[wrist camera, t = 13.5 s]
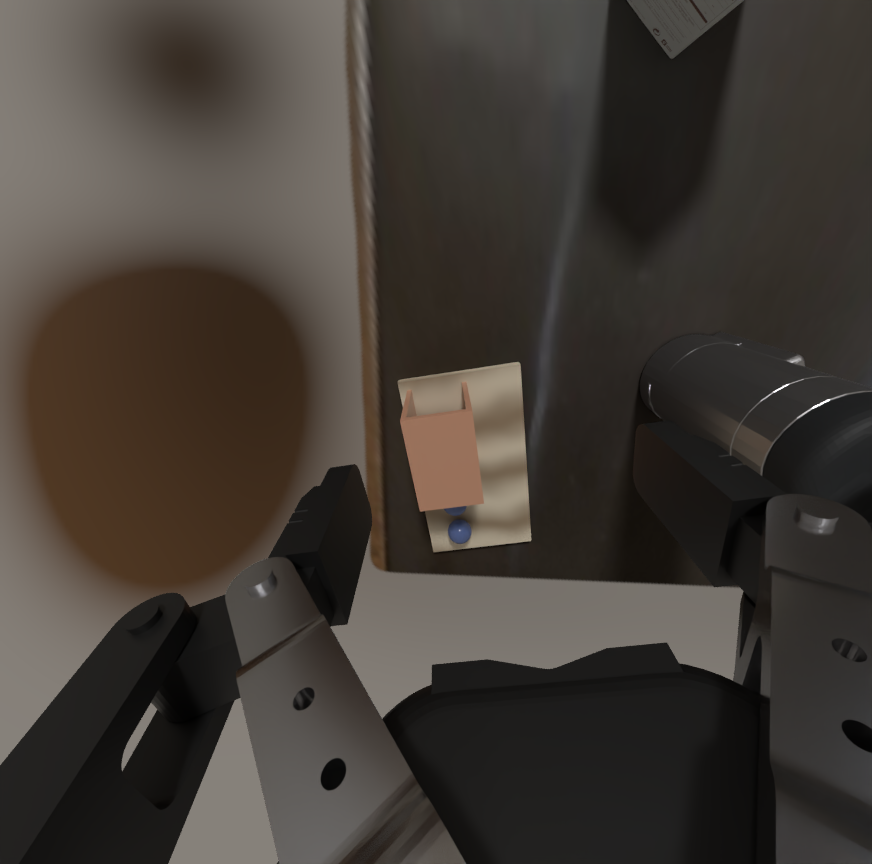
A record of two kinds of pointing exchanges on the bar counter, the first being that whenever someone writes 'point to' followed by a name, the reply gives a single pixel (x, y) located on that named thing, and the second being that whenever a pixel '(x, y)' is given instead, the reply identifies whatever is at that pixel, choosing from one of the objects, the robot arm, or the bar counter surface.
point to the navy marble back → (459, 531)
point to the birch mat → (483, 451)
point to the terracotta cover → (442, 455)
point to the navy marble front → (455, 510)
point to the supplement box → (680, 20)
